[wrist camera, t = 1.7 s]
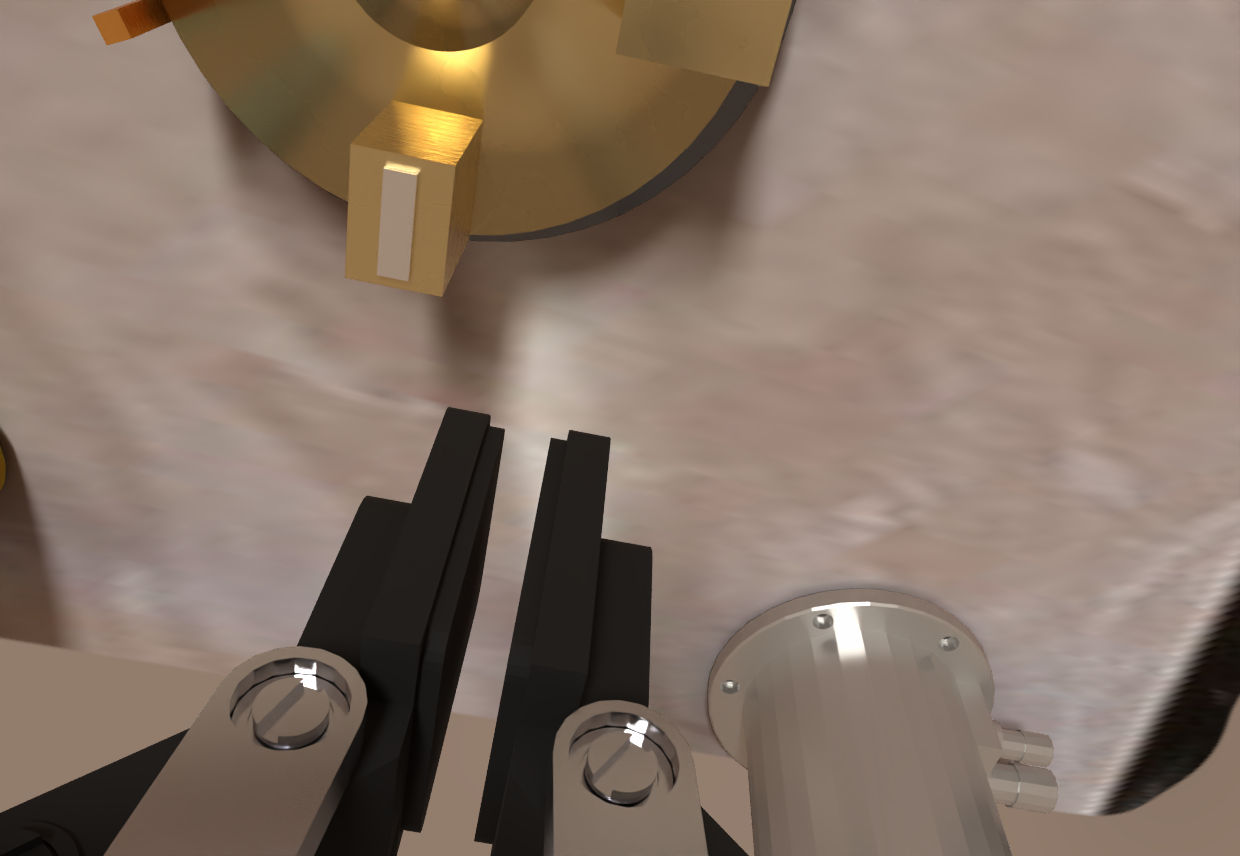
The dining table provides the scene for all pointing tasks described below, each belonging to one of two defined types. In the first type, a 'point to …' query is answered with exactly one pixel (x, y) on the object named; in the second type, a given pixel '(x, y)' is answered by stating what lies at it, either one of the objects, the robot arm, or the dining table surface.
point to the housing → (153, 14)
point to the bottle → (2, 469)
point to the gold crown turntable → (474, 106)
